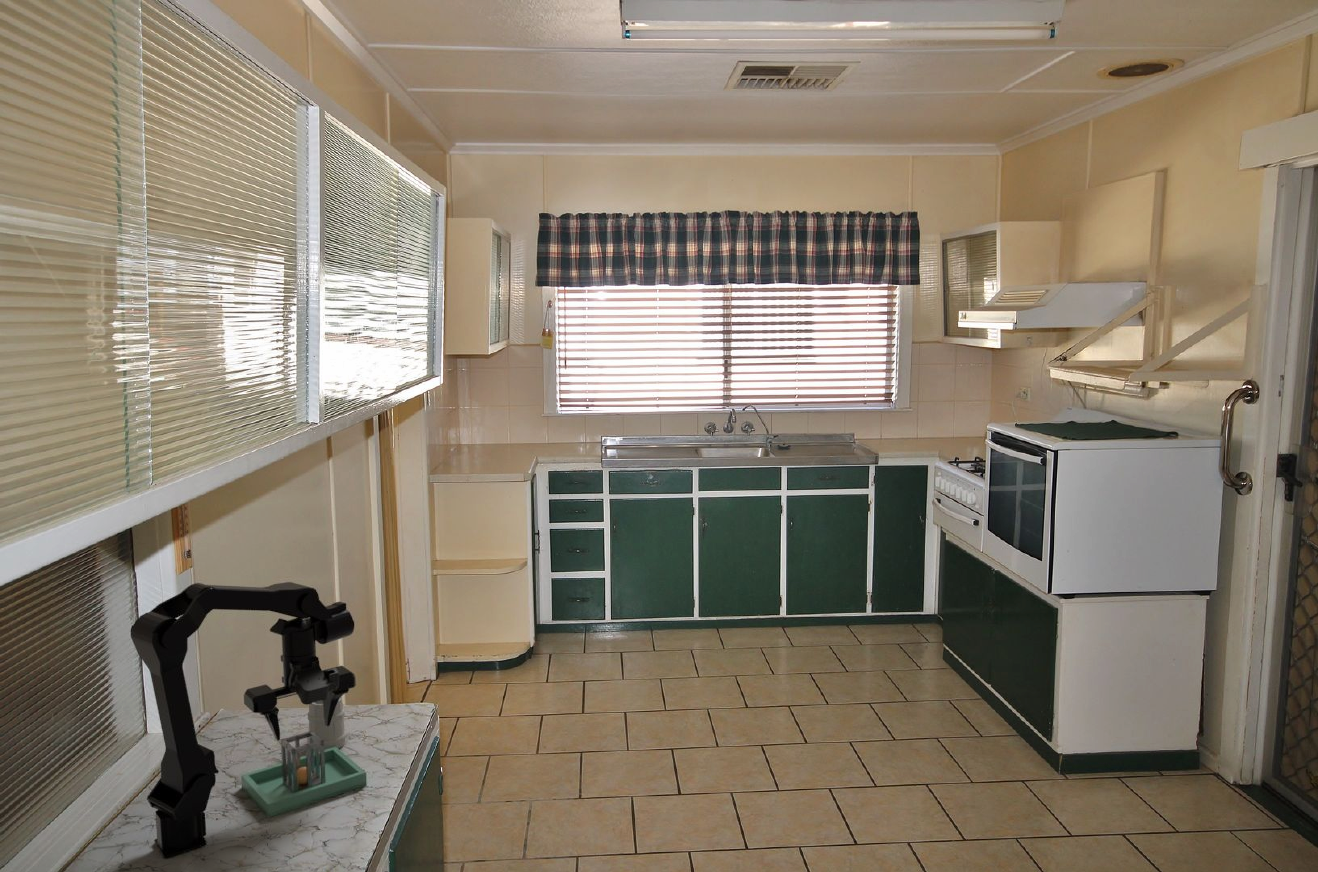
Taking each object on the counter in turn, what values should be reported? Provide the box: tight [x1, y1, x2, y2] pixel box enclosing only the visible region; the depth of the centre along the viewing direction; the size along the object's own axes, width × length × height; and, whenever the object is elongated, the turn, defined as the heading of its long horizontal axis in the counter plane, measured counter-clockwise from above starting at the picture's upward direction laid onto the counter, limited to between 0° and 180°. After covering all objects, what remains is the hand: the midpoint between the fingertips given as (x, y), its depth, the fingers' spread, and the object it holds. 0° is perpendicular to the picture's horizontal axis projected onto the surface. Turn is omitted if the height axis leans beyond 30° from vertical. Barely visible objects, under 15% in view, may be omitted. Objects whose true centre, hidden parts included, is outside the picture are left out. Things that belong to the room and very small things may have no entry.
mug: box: [306, 695, 348, 751], centre depth 197 cm, size 8×12×12 cm, turn 17°
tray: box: [240, 747, 368, 818], centre depth 178 cm, size 18×14×2 cm
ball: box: [297, 767, 312, 784], centre depth 177 cm, size 3×3×3 cm
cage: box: [280, 730, 326, 793], centre depth 177 cm, size 6×6×8 cm
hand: (303, 732), depth 177 cm, fingers open, 9 cm apart
